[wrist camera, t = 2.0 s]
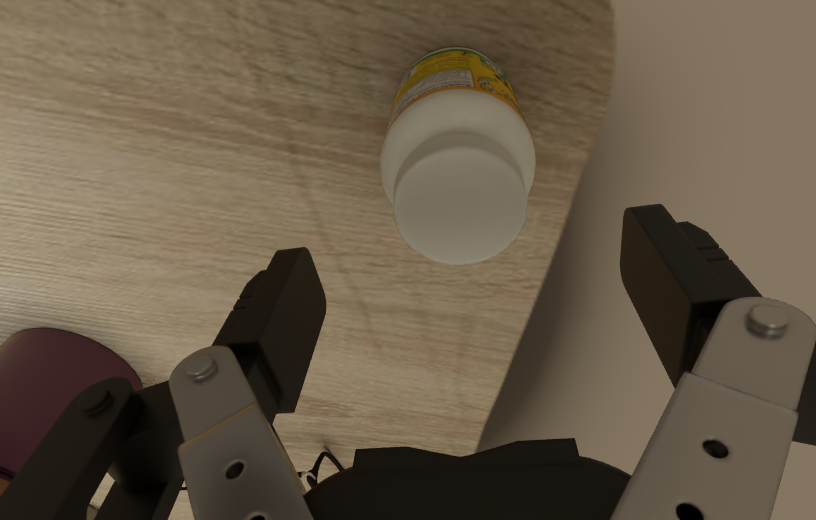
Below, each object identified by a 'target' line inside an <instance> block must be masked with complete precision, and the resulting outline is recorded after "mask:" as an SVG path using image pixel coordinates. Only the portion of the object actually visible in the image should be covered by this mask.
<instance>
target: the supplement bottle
mask: <svg viewBox="0 0 816 520" xmlns="http://www.w3.org/2000/svg"><path fill="white" fill-rule="evenodd" d="M535 167H536V156H535V149H534V144H533V140H532V137H531V134H530V132H529V129H528V127H527V124H526V122H525V120H524V118H523V115H522V113H521V110H520V108H519V105H518V103H517V100H516V98H515V96H514V93H513V91H512V88H511V86H510V84H509V81H508V79H507V78H506V76H505V75H504V73H503V72H502V70H501V69H500V68H499V67H498V66H497V65H496V64H495V63H494V62H492V61H491V60H490V59H488V58H487V57H486V56H484V55H483V54H481V53H479V52H477V51H474V50H472V49H468V48H462V47H449V48H443V49H440V50H437V51H434V52H431V53H429V54H427V55H425V56H424V57H422V58H421V59H419V60H418V61H417V62H416V63H415V64H413V66H412V67H411V68H410V69H409V70H408V71H407V72H406V74H405V75H404V77H403V78H402V80H401V82H400V85H399V87H398V90H397V93H396V96H395V99H394V102H393V106H392V110H391V114H390V118H389V122H388V125H387V129H386V133H385V137H384V141H383V145H382V150H381V157H380V174H381V180H382V184H383V188H384V190H385V193H386V195H387V197H388V199H389V201H390V203H391V204H392V206H393V215H394V220H395V223H396V226H397V228H398V231H399V233H400V234H401V236H402V238H403V239H404V240H405V241H406V243H407V244H408V245H409V246H410V247H411V248H413V249H414V250H415V251H416V252H418V253H419V254H421V255H423V256H425V257H426V258H428V259H431V260H433V261H437V262H440V263H445V264H453V265H465V264H473V263H477V262H480V261H484V260H486V259H489V258H491V257H493V256H495V255H497V254H498V253H500V252H501V251H503V250H504V249H505V248H507V247H508V246H509V245H510V244H511V243H512V242H513V241H514V240H515V238H516V237H517V236H518V234H519V232H520V231H521V229H522V227H523V225H524V222H525V218H526V215H527V206H528V204H527V195H528V193H529V191H530V189H531V186H532V183H533V180H534V175H535Z"/></svg>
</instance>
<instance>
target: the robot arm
mask: <svg viewBox="0 0 816 520" xmlns="http://www.w3.org/2000/svg"><path fill="white" fill-rule="evenodd" d="M620 255H621V256H620V271H621V277H622V281H623V284H624V286H625V289H626V291H627V293H628V295H629V297H630V299H631V301H632V303H633V305H634V307H635V309H636V311H637V313H638V315H639V317H640V319H641V321H642V323H643V325H644V327H645V329H646V331H647V333H648V335H649V337H650V340H651V342H652V343H653V346H654V348H655V350H656V351H657V354H658V356H659V358H660V360H661V361H662V364H663V366H664V368H665V370H666V372H667V374H668V376H669V378H670V380H671V382H672V384H673V386H674V388H675V391H674V392H673V395H672V396H671V398H670V401H669V403H668V404H667V407H666V409H665V410H664V412H663V414H662V416H661V419H660V421H659V423H658V425H657V427H656V429H655V431H654V432H653V435H652V436H651V438H650V440H649V442H648V444H647V446H646V449H645V450H644V452H643V455H642V457H641V458H640V460H639V462H638V464H637V466H636V468H635V470H634V472H633V474H632V476H631V475H629V474H628V473H626V472H624V471H622V470H620V469H618V468H616V467H613V466H611V465H609V464H606V463H604V462H601V461H598V460H594V459H591V458H586V457H581V456H579V453H578V449H577V445H576V441H575V438H567V439H548V440H529V441H516V442H513V443H509V444H506V445H502V446H499V447H496V448H493V449H489V450H485V451H482V452H479V453H475V454H472V455H468V456H464V457H458V456H452V455H447V454H442V453H437V452H431V451H426V450H421V449H416V448H411V447H389V448H369V449H356V451H355V457H354V462H353V467H350V468H347V469H345V470H342V471H340V472H338V473H335V474H333V475H332V476H330V477H328V478H326V479H324V480H323V481H321V482H320V483H319V484H317V485H316V486H314V487H313V488H312V489H310V490H309V491H308V492H307V491H306V489H305V487H304V485H303V484H302V482H301V480H300V478H299V476H298V474H297V472H296V470H295V468H294V466H293V464H292V462H291V460H290V458H289V456H288V454H287V452H286V450H285V448H284V446H283V444H282V442H281V440H280V438H279V436H278V434H277V432H276V430H275V428H274V426H273V425H272V424H273V421H274V418H275V416H276V414H279V413H294V412H295V408H296V405H297V402H298V399H299V396H300V393H301V390H302V387H303V383H304V380H305V377H306V374H307V371H308V368H309V365H310V361H311V358H312V355H313V352H314V349H315V346H316V343H317V340H318V336H319V333H320V330H321V327H322V324H323V321H324V318H325V314H326V298H325V293H324V290H323V287H322V285H321V282H320V279H319V276H318V273H317V271H316V268H315V265H314V262H313V260H312V257H311V254H310V252H309V250H308V249H307V248H305V247H301V248H293V249H285V250H278V251H277V252H276V253H275V254H274V256H273V258H272V260H271V262H270V264H269V266H268V268H267V269H266V270H262V271H260V272H259V273H258V274H257V275H256V276H255V277H253V278H252V279H251V280H250V281H249V282H248V283H247V284H246V286H245V288H244V289H243V291H242V293H241V295H240V299H238V300H237V302H236V304H235V305H234V307H233V310H232V311H231V312H230V314H229V316H228V318H227V319H226V321H225V323H224V325H223V326H222V328H221V330H220V332H219V333H218V335H217V337H216V339H215V340H214V342H213V344H212V346H210V347H206V348H203V349H200V350H198V351H196V352H194V353H192V354H191V355H189V356H188V357H186V358H185V359H184V360H182V361H181V362H180V363H179V364H178V365H177V366H176V368H175V369H174V370H173V372H172V374H171V376H170V378H169V380H168V381H165V382H162V383H159V384H156V385H153V386H150V387H147V388H144V389H141V390H138V391H137V390H136V389H135V388H134V386H133V385H132V384H131V382H130V381H129V380H128V379H127V378H124V377H112V378H107V379H104V380H101V381H99V382H97V383H95V384H93V385H91V386H89V387H88V388H86V389H85V390H83V391H82V392H80V393H79V394H78V395H77V396H76V397H75V398H74V399H73V400H72V401H71V402H70V403H69V404H68V405H67V406H66V408H65V409H64V411H63V412H62V413H61V415H60V416H59V417H58V419H57V420H56V421H55V423H54V424H53V425H52V427H51V428H50V429H49V431H48V432H47V433H46V435H45V436H44V438H43V439H42V440H41V442H40V443H39V444H38V446H37V447H36V448H35V450H34V451H33V452H32V454H31V455H30V456H29V458H28V459H27V460H26V462H25V463H24V465H23V466H22V467H21V469H20V470H19V471H18V473H17V474H16V475H15V477H14V478H13V479H12V481H11V482H10V483H9V485H8V486H7V488H6V489H5V490H4V492H3V493H2V494H1V496H0V520H87V509H88V506H89V503H90V501H91V499H92V497H93V495H94V494H95V492H96V490H97V488H98V487H99V485H100V483H101V481H102V480H103V478H104V476H105V474H106V473H108V474H109V475H110V476H111V477H112V478H113V479H114V480H115V482H114V484H113V485H112V487H111V489H110V491H109V493H108V494H107V496H106V498H105V500H104V502H103V504H102V505H101V507H100V509H99V511H98V513H97V514H96V516H95V518H94V520H168V517H169V515H170V513H171V510H172V508H173V506H174V503H175V501H176V499H177V496H178V494H179V491H180V489H181V487H182V484H183V482H184V480H185V484H186V488H187V492H188V496H189V500H190V503H191V507H192V511H193V515H194V519H195V520H770V518H771V514H772V511H773V507H774V504H775V500H776V496H777V493H778V489H779V485H780V482H781V478H782V474H783V471H784V467H785V463H786V459H787V456H788V452H789V448H790V445H791V441H795V442H800V443H805V444H810V445H815V446H816V325H815V323H814V322H813V320H812V319H811V318H810V317H809V316H808V315H807V314H805V313H804V312H803V311H801V310H800V309H798V308H796V307H794V306H792V305H789V304H787V303H785V302H782V301H779V300H775V299H770V298H764V297H763V296H762V295H761V294H760V293H759V292H758V291H757V289H755V287H754V286H753V285H752V284H751V282H750V281H749V280H748V279H747V278H746V277H745V276H744V274H743V273H742V272H741V271H740V270H739V268H738V267H737V266H736V265H735V264H734V263H733V261H732V260H729V257H728V256H727V255H726V253H725V252H724V251H723V250H722V249H721V248H720V249H719V245H718V244H717V243H716V242H715V240H714V239H713V238H712V237H711V236H710V235H709V234H708V232H706V231H704V230H702V229H701V228H699V227H697V226H695V225H693V224H691V223H689V222H688V221H687V222H679V223H676V221H675V220H674V219H673V218H672V216H671V215H670V214H669V212H668V211H667V210H666V209H665V207H664V206H663V205H661V204H654V205H646V206H638V207H630V208H626V210H625V212H624V216H623V228H622V242H621V254H620Z"/></svg>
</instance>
